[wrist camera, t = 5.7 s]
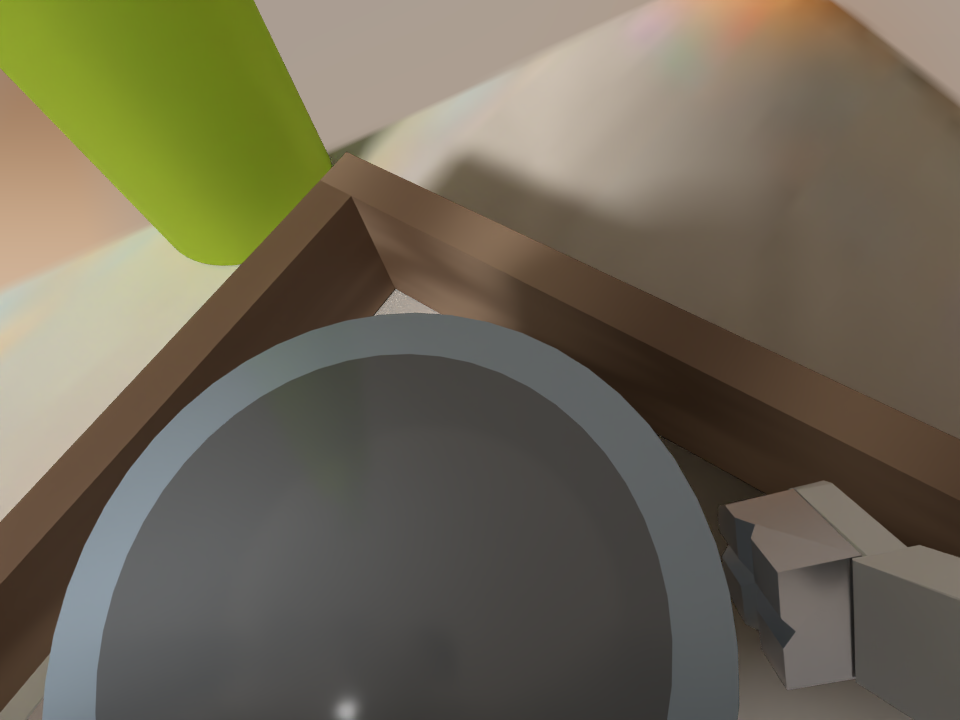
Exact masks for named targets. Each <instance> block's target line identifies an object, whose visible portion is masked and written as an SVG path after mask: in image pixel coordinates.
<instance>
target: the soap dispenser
mask: <svg viewBox="0 0 960 720" xmlns="http://www.w3.org/2000/svg"><path fill="white" fill-rule="evenodd" d="M0 68H1V69H2V70H3V71H4V72H5V73H6V74H7V75H8V76H9V77H10V78H11V80H12V81H13V82H14V83H15V84H16V85H17V86H18V87H19V88H20V89H21V90H22V91H23V92H24V93H25V94H26V95H27V96H28V97H29V98H30V99H31V100H32V101H33V102H34V103H35V104H36V105H37V106H38V107H39V108H40V109H41V110H42V112H43V113H44V114H45V115H46V116H47V117H48V118H49V119H50V120H52V122H53V123H54V124H55V125H56V126H57V127H58V128H59V129H60V130H61V131H62V132H63V133H64V134H65V135H66V136H67V137H68V138H69V139H70V140H71V141H72V142H73V143H74V144H75V145H76V146H77V148H78V149H79V150H80V151H81V152H82V153H83V154H84V155H85V156H86V157H87V158H88V159H89V160H90V161H91V162H92V163H93V164H94V165H95V166H96V167H97V168H98V169H99V170H100V171H101V172H102V173H103V174H104V175H105V176H106V177H107V178H108V179H109V180H110V181H111V182H112V183H113V185H114V186H115V187H116V188H117V189H118V190H119V191H120V192H121V193H122V194H123V195H124V196H125V197H126V198H127V199H128V200H129V201H130V202H131V203H132V204H133V205H134V206H135V207H136V208H137V209H138V210H139V211H140V212H141V213H142V214H143V215H144V216H145V218H146V219H147V220H148V221H149V222H150V223H151V224H152V225H153V226H154V227H155V228H156V229H157V230H158V231H159V232H160V233H161V234H162V235H163V236H164V237H165V238H166V239H167V240H168V241H169V242H170V243H171V244H172V245H173V246H174V247H175V248H176V249H177V250H178V251H179V252H180V253H182V254H183V255H185V256H187V257H188V258H190V259H193V260H195V261H198V262H201V263H205V264H210V265H238V264H242V263H243V262H244V261H245V260H246V259H247V258H248V257H249V256H250V255H251V253H252V252H253V251H254V250H255V249H256V248H257V247H258V246H259V245H260V244H261V243H262V242H263V241H264V240H265V238H266V237H267V236H268V235H269V234H270V233H271V232H272V231H273V230H274V229H275V228H276V227H277V226H278V225H279V224H280V222H281V221H282V220H283V219H284V218H285V217H286V216H287V215H288V214H289V213H290V212H291V211H292V210H293V209H294V207H295V206H296V205H297V204H298V203H299V202H300V201H301V200H302V199H303V198H304V197H305V196H306V195H307V194H308V192H309V191H310V190H311V189H312V188H313V187H314V186H315V185H316V184H317V183H318V182H319V181H320V180H321V179H322V178H323V176H324V175H325V174H326V173H327V172H328V171H329V170H330V169H331V168H332V165H331V161H330V158H329V156H328V154H327V152H326V149H325V147H324V146H323V143H322V141H321V139H320V137H319V135H318V133H317V131H316V129H315V127H314V125H313V123H312V121H311V118H310V116H309V114H308V112H307V110H306V108H305V106H304V104H303V102H302V100H301V98H300V96H299V94H298V91H297V90H296V87H295V85H294V83H293V81H292V79H291V77H290V75H289V73H288V71H287V69H286V67H285V64H284V62H283V61H282V58H281V57H280V54H279V52H278V50H277V48H276V46H275V44H274V42H273V40H272V38H271V36H270V33H269V31H268V29H267V27H266V25H265V23H264V21H263V19H262V17H261V15H260V13H259V11H258V8H257V6H256V4H255V2H254V0H0Z"/></svg>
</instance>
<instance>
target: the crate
mask: <svg viewBox="0 0 960 720" xmlns="http://www.w3.org/2000/svg"><path fill="white" fill-rule="evenodd" d="M394 289H397V290H399V291H401V292H403V293H404V294H406V295H408V296H410V297H412V298H413V299H415V300H417V301H419V302H421V303H422V304H424V305H426V306H428V307H430V308H431V309H433V310H435V311H437V312H439V313H440V314H442V315H453V316H459V317H464V318H469V319H475V320H480V321H486V322H489V323H492V324H496V325H499V326H502V327H505V328H508V329H511V330H515V331H518V332H521V333H523V334H526V335H528V336H530V337H532V338H534V339H536V340H539V341H541V342H543V343H545V344H547V345H549V346H552V347H554V348H556V349H558V350H559V351H561V352H562V353H564V354H566V355H567V356H569V357H570V358H572V359H574V360H575V361H577V362H579V363H580V364H582V365H583V366H585V367H587V368H588V369H590V370H591V371H592V372H593V373H594V374H596V375H597V376H598V377H599V378H601V379H602V380H603V381H604V382H606V383H607V384H608V385H609V386H610V387H612V388H613V389H614V390H615V391H617V392H618V393H619V394H620V395H621V396H622V397H623V398H624V399H625V400H626V401H627V402H628V403H629V404H630V405H631V406H632V407H633V408H634V409H635V410H636V411H637V412H638V414H639V415H640V416H641V417H642V418H643V419H644V420H645V421H646V422H647V423H648V424H649V425H650V427H651V428H652V429H653V431H654V432H656V433H657V434H659V435H661V436H663V437H665V438H666V439H668V440H670V441H672V442H674V443H675V444H677V445H679V446H681V447H683V448H684V449H686V450H688V451H690V452H692V453H693V454H695V455H697V456H699V457H701V458H703V459H704V460H706V461H708V462H710V463H712V464H713V465H715V466H717V467H719V468H721V469H722V470H724V471H726V472H728V473H730V474H731V475H733V476H735V477H737V478H739V479H740V480H742V481H744V482H746V483H748V484H750V485H751V486H753V487H755V488H757V489H759V490H760V491H762V492H764V493H766V494H773V493H777V492H782V491H786V490H788V489H790V488H794V487H799V486H803V485H807V484H811V483H815V482H819V481H823V480H824V481H827V482H831V483H833V484H834V485H835V486H836V487H837V488H838V489H840V490H841V491H842V492H843V493H844V494H846V495H847V496H848V497H849V498H850V499H851V500H853V501H854V502H855V503H856V504H857V505H859V506H860V507H861V508H862V509H863V510H864V511H866V512H867V513H868V514H869V515H870V516H871V517H873V518H874V519H875V520H876V521H877V522H879V523H880V524H881V525H882V526H883V527H884V528H886V529H887V530H888V531H889V532H890V533H892V534H893V535H894V536H895V537H896V538H897V539H899V540H900V541H901V542H902V543H903V544H904V545H906V546H907V547H912V546H917V545H921V546H925V547H928V548H931V549H934V550H937V551H940V552H943V553H947V554H950V555H953V556H956V557H959V558H960V439H958V438H955V437H953V436H951V435H949V434H947V433H945V432H943V431H940V430H938V429H936V428H934V427H932V426H930V425H928V424H926V423H923V422H921V421H919V420H917V419H915V418H913V417H911V416H908V415H906V414H904V413H902V412H900V411H898V410H896V409H894V408H891V407H889V406H887V405H885V404H883V403H881V402H879V401H876V400H874V399H872V398H870V397H868V396H866V395H864V394H862V393H859V392H857V391H855V390H853V389H851V388H849V387H847V386H845V385H842V384H840V383H838V382H836V381H834V380H832V379H830V378H827V377H825V376H823V375H821V374H819V373H817V372H815V371H813V370H810V369H808V368H806V367H804V366H802V365H800V364H798V363H795V362H793V361H791V360H789V359H787V358H785V357H783V356H781V355H778V354H776V353H774V352H772V351H770V350H768V349H766V348H763V347H761V346H759V345H757V344H755V343H753V342H751V341H749V340H746V339H744V338H742V337H740V336H738V335H736V334H734V333H731V332H729V331H727V330H725V329H723V328H721V327H719V326H717V325H714V324H712V323H710V322H708V321H706V320H704V319H702V318H699V317H697V316H695V315H693V314H691V313H689V312H687V311H685V310H682V309H680V308H678V307H676V306H674V305H672V304H670V303H668V302H665V301H663V300H661V299H659V298H657V297H655V296H653V295H650V294H648V293H646V292H644V291H642V290H640V289H638V288H636V287H633V286H631V285H629V284H627V283H625V282H623V281H621V280H618V279H616V278H614V277H612V276H610V275H608V274H606V273H604V272H601V271H599V270H597V269H595V268H593V267H591V266H589V265H586V264H584V263H582V262H580V261H578V260H576V259H574V258H572V257H569V256H567V255H565V254H563V253H561V252H559V251H557V250H554V249H552V248H550V247H548V246H546V245H544V244H542V243H540V242H537V241H535V240H533V239H531V238H529V237H527V236H525V235H522V234H520V233H518V232H516V231H514V230H512V229H510V228H508V227H505V226H503V225H501V224H499V223H497V222H495V221H493V220H491V219H488V218H486V217H484V216H482V215H480V214H478V213H476V212H473V211H471V210H469V209H467V208H465V207H463V206H461V205H459V204H456V203H454V202H452V201H450V200H448V199H446V198H444V197H441V196H439V195H437V194H435V193H433V192H431V191H429V190H427V189H424V188H422V187H420V186H418V185H416V184H414V183H412V182H409V181H407V180H405V179H403V178H401V177H399V176H397V175H395V174H392V173H390V172H388V171H386V170H384V169H382V168H380V167H377V166H375V165H373V164H371V163H369V162H367V161H365V160H363V159H360V158H358V157H356V156H354V155H352V154H350V153H348V152H346V153H345V154H344V155H343V156H342V157H341V158H340V159H339V160H338V161H337V163H336V164H335V165H334V166H333V167H332V168H331V169H330V170H329V171H328V172H327V173H326V174H325V175H324V176H323V178H322V179H321V180H320V181H319V182H318V183H317V184H316V185H315V186H314V187H313V188H312V189H311V190H310V191H309V192H308V194H307V195H306V196H305V197H304V198H303V199H302V200H301V201H300V202H299V203H298V204H297V205H296V206H295V207H294V209H293V210H292V211H291V212H290V213H289V214H288V215H287V216H286V217H285V218H284V219H283V220H282V221H281V222H280V224H279V225H278V226H277V227H276V228H275V229H274V230H273V231H272V232H271V233H270V234H269V235H268V236H267V237H266V238H265V240H264V241H263V242H262V243H261V244H260V245H259V246H258V247H257V248H256V249H255V250H254V251H253V252H252V253H251V255H250V256H249V257H248V258H247V259H246V260H245V261H244V262H243V263H242V264H241V265H240V266H239V267H238V268H237V269H236V271H235V272H234V273H233V274H232V275H231V276H230V277H229V278H228V279H227V280H226V281H225V282H224V283H223V284H222V286H221V287H220V288H219V289H218V290H217V291H216V292H215V293H214V294H213V295H212V296H211V297H210V298H209V299H208V301H207V302H206V303H205V304H204V305H203V306H202V307H201V308H200V309H199V310H198V311H197V312H196V313H195V314H194V315H193V317H192V318H191V319H190V320H189V321H188V322H187V323H186V324H185V325H184V326H183V327H182V328H181V329H180V330H179V332H178V333H177V334H176V335H175V336H174V337H173V338H172V339H171V340H170V341H169V342H168V343H167V344H166V345H165V346H164V348H163V349H162V350H161V351H160V352H159V353H158V354H157V355H156V356H155V357H154V358H153V359H152V360H151V361H150V363H149V364H148V365H147V366H146V367H145V368H144V369H143V370H142V371H141V372H140V373H139V374H138V375H137V376H136V378H135V379H134V380H133V381H132V382H131V383H130V384H129V385H128V386H127V387H126V388H125V389H124V390H123V391H122V392H121V394H120V395H119V396H118V397H117V398H116V399H115V400H114V401H113V402H112V403H111V404H110V405H109V406H108V407H107V409H106V410H105V411H104V412H103V413H102V414H101V415H100V416H99V417H98V418H97V419H96V420H95V421H94V422H93V423H92V425H91V426H90V427H89V428H88V429H87V430H86V431H85V432H84V433H83V434H82V435H81V436H80V437H79V438H78V440H77V441H76V442H75V443H74V444H73V445H72V446H71V447H70V448H69V449H68V450H67V451H66V452H65V453H64V455H63V456H62V457H61V458H60V459H59V460H58V461H57V462H56V463H55V464H54V465H53V466H52V467H51V468H50V469H49V471H48V472H47V473H46V474H45V475H44V476H43V477H42V478H41V479H40V480H39V481H38V482H37V483H36V484H35V486H34V487H33V488H32V489H31V490H30V491H29V492H28V493H27V494H26V495H25V496H24V497H23V498H22V499H21V501H20V502H19V503H18V504H17V505H16V506H15V507H14V508H13V509H12V510H11V511H10V512H9V513H8V514H7V515H6V517H5V518H4V519H3V520H2V521H1V522H0V712H1V711H2V710H3V709H4V708H5V706H6V705H7V704H8V703H9V702H10V700H11V699H12V698H13V697H14V696H15V695H16V693H17V692H18V691H19V690H20V689H21V687H22V686H23V685H24V684H25V683H26V681H27V680H28V679H29V678H30V677H31V675H32V674H33V673H34V672H35V671H36V670H37V668H38V667H39V666H40V665H41V664H42V662H43V661H44V660H45V659H46V658H47V656H48V655H49V654H50V652H51V647H52V641H53V636H54V632H55V628H56V625H57V621H58V618H59V615H60V611H61V608H62V604H63V601H64V597H65V594H66V591H67V587H68V585H69V583H70V580H71V578H72V575H73V573H74V570H75V568H76V565H77V563H78V560H79V558H80V555H81V553H82V550H83V548H84V545H85V543H86V542H87V540H88V538H89V536H90V534H91V532H92V530H93V528H94V526H95V524H96V522H97V521H98V519H99V517H100V515H101V513H102V511H103V509H104V507H105V505H106V504H107V502H108V501H109V499H110V498H111V496H112V495H113V493H114V492H115V490H116V489H117V487H118V486H119V484H120V482H121V481H122V479H123V478H124V476H125V475H126V473H127V472H128V470H129V469H130V468H131V466H132V465H133V464H134V463H135V461H136V460H137V459H138V458H139V457H140V455H141V454H142V453H143V452H144V450H145V449H146V448H147V447H148V445H149V444H150V443H151V442H152V440H153V439H154V438H155V437H156V436H157V435H158V434H159V433H160V432H161V431H162V430H163V429H164V428H165V427H166V426H167V424H168V423H169V422H170V421H171V420H172V419H173V418H174V417H175V416H176V415H177V414H178V413H179V412H180V411H181V410H182V409H183V408H184V407H186V406H187V405H188V404H189V403H190V402H192V401H193V400H194V399H195V398H196V397H197V396H199V395H200V394H201V393H202V392H203V391H205V390H206V389H207V388H208V387H209V386H211V385H212V384H213V383H214V382H216V381H217V380H219V379H220V378H222V377H223V376H225V375H226V374H228V373H229V372H231V371H232V370H234V369H235V368H237V367H238V366H240V365H241V364H242V363H244V362H246V361H247V360H249V359H251V358H253V357H255V356H257V355H259V354H260V353H262V352H264V351H266V350H268V349H270V348H272V347H274V346H275V345H277V344H280V343H282V342H285V341H287V340H289V339H292V338H294V337H297V336H299V335H302V334H304V333H307V332H309V331H312V330H315V329H319V328H322V327H326V326H329V325H333V324H336V323H339V322H343V321H347V320H353V319H359V318H365V317H371V316H373V315H374V314H375V312H376V311H377V310H378V309H379V308H380V306H381V305H382V304H383V303H384V301H385V300H386V299H387V298H388V297H389V295H390V294H391V293H392V292H393V291H394Z"/></svg>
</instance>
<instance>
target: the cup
mask: <svg viewBox="0 0 960 720" xmlns="http://www.w3.org/2000/svg"><path fill="white" fill-rule="evenodd" d="M738 710H739V674H738V644H737V638H736V631H735V624H734V618H733V611H732V604H731V598H730V592H729V588H728V585H727V581H726V578H725V574H724V570H723V567H722V563H721V560H720V556H719V553H718V549H717V545H716V542H715V540H714V538H713V535H712V533H711V530H710V528H709V526H708V523H707V521H706V518H705V516H704V514H703V511H702V509H701V506H700V504H699V502H698V499H697V497H696V496H695V494H694V492H693V490H692V489H691V487H690V485H689V483H688V482H687V480H686V478H685V476H684V475H683V473H682V471H681V469H680V467H679V466H678V464H677V462H676V460H675V459H674V457H673V456H672V455H671V453H670V452H669V451H668V449H667V448H666V447H665V445H664V444H663V443H662V441H661V440H660V439H659V437H658V436H657V435H656V433H655V432H654V431H653V429H652V428H651V427H650V425H649V424H648V423H647V422H646V421H645V420H644V419H643V418H642V417H641V416H640V415H639V414H638V412H637V411H636V410H635V409H634V408H633V407H632V406H631V405H630V404H629V403H628V402H627V401H626V400H625V399H624V398H623V397H622V396H621V395H620V394H619V393H618V392H617V391H615V390H614V389H613V388H612V387H610V386H609V385H608V384H607V383H606V382H604V381H603V380H602V379H601V378H599V377H598V376H597V375H596V374H594V373H593V372H592V371H591V370H590V369H588V368H587V367H585V366H583V365H582V364H580V363H579V362H577V361H575V360H574V359H572V358H570V357H569V356H567V355H566V354H564V353H562V352H561V351H559V350H558V349H556V348H554V347H552V346H549V345H547V344H545V343H543V342H541V341H539V340H536V339H534V338H532V337H530V336H528V335H526V334H523V333H521V332H518V331H515V330H511V329H508V328H505V327H502V326H499V325H496V324H492V323H489V322H486V321H480V320H475V319H469V318H464V317H459V316H453V315H441V314H426V313H405V314H386V315H377V316H371V317H365V318H359V319H353V320H347V321H343V322H339V323H336V324H333V325H329V326H326V327H322V328H319V329H315V330H312V331H309V332H307V333H304V334H302V335H299V336H297V337H294V338H292V339H289V340H287V341H285V342H282V343H280V344H277V345H275V346H274V347H272V348H270V349H268V350H266V351H264V352H262V353H260V354H259V355H257V356H255V357H253V358H251V359H249V360H247V361H246V362H244V363H242V364H241V365H240V366H238V367H237V368H235V369H234V370H232V371H231V372H229V373H228V374H226V375H225V376H223V377H222V378H220V379H219V380H217V381H216V382H214V383H213V384H212V385H211V386H209V387H208V388H207V389H206V390H205V391H203V392H202V393H201V394H200V395H199V396H197V397H196V398H195V399H194V400H193V401H192V402H190V403H189V404H188V405H187V406H186V407H184V408H183V409H182V410H181V411H180V412H179V413H178V414H177V415H176V416H175V417H174V418H173V419H172V420H171V421H170V422H169V423H168V424H167V426H166V427H165V428H164V429H163V430H162V431H161V432H160V433H159V434H158V435H157V436H156V437H155V438H154V439H153V440H152V442H151V443H150V444H149V445H148V447H147V448H146V449H145V450H144V452H143V453H142V454H141V455H140V457H139V458H138V459H137V460H136V461H135V463H134V464H133V465H132V466H131V468H130V469H129V470H128V472H127V473H126V475H125V476H124V478H123V479H122V481H121V482H120V484H119V486H118V487H117V489H116V490H115V492H114V493H113V495H112V496H111V498H110V499H109V501H108V502H107V504H106V505H105V507H104V509H103V511H102V513H101V515H100V517H99V519H98V521H97V522H96V524H95V526H94V528H93V530H92V532H91V534H90V536H89V538H88V540H87V542H86V543H85V545H84V548H83V550H82V553H81V555H80V558H79V560H78V563H77V565H76V568H75V570H74V573H73V575H72V578H71V580H70V583H69V585H68V587H67V591H66V594H65V597H64V601H63V604H62V608H61V611H60V615H59V618H58V621H57V625H56V628H55V632H54V636H53V641H52V647H51V652H50V658H49V663H48V669H47V674H46V680H45V689H44V702H43V715H42V720H738Z"/></svg>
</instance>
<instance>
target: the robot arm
mask: <svg viewBox="0 0 960 720" xmlns="http://www.w3.org/2000/svg"><path fill="white" fill-rule="evenodd" d="M717 516H718V527H719V531H720V533H721V534H722V536H723V537H724V538H725V540H726V541H727V543H728V544H729V545H728V547H727V549H726V550H725V552H724V554H723V555H722V561H723V568H724V574H725V578H726V581H727V585H728V588H729V592H730V596H731V598H732V600H733V602H734V604H735V606H736V609H737V611H738V612H739V614H740V616H741V617H742V619H743V621H744V622H745V624H746V625H748V626H750V627H752V628H754V629H756V630H758V631H759V634H760V643H761V650H762V652H763V653H764V655H765V656H766V658H767V659H768V661H769V663H770V664H771V666H772V667H773V669H774V671H775V672H776V674H777V675H778V677H779V678H780V680H781V682H782V683H783V685H784V686H785V688H786V690H792V689H798V688H804V687H810V686H816V685H822V684H828V683H834V682H840V681H846V680H852V679H856V683H858V684H859V685H861V686H862V687H864V688H865V689H867V690H869V691H870V692H872V693H873V694H875V695H876V696H878V697H880V698H881V699H883V700H884V701H886V702H887V703H889V704H890V705H892V706H894V707H895V708H897V709H898V710H900V711H901V712H903V713H905V714H906V715H908V716H909V717H911V718H912V719H914V720H960V558H959V557H956V556H953V555H950V554H947V553H943V552H940V551H937V550H934V549H931V548H928V547H925V546H921V545H917V546H912V547H907V546H906V545H904V544H903V543H902V542H901V541H900V540H899V539H897V538H896V537H895V536H894V535H893V534H892V533H890V532H889V531H888V530H887V529H886V528H884V527H883V526H882V525H881V524H880V523H879V522H877V521H876V520H875V519H874V518H873V517H871V516H870V515H869V514H868V513H867V512H866V511H864V510H863V509H862V508H861V507H860V506H859V505H857V504H856V503H855V502H854V501H853V500H851V499H850V498H849V497H848V496H847V495H846V494H844V493H843V492H842V491H841V490H840V489H838V488H837V487H836V486H835V485H834V484H833V483H831V482H827V481H824V480H823V481H819V482H815V483H811V484H807V485H803V486H799V487H794V488H790V489H788V490H786V491H782V492H777V493H773V494H768V495H764V496H759V497H754V498H750V499H745V500H741V501H736V502H732V503H727V504H723V505H719V506H718V514H717ZM49 658H50V654H49V655H48V656H47V658H46V659H45V660H44V661H43V662H42V664H41V665H40V666H39V667H38V668H37V670H36V671H35V672H34V673H33V674H32V675H31V677H30V678H29V679H28V680H27V681H26V683H25V684H24V685H23V686H22V687H21V689H20V690H19V691H18V692H17V693H16V695H15V696H14V697H13V698H12V699H11V700H10V702H9V703H8V704H7V705H6V706H5V708H4V709H3V710H2V711H1V712H0V720H42V715H43V702H44V689H45V680H46V674H47V669H48V663H49Z"/></svg>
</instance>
